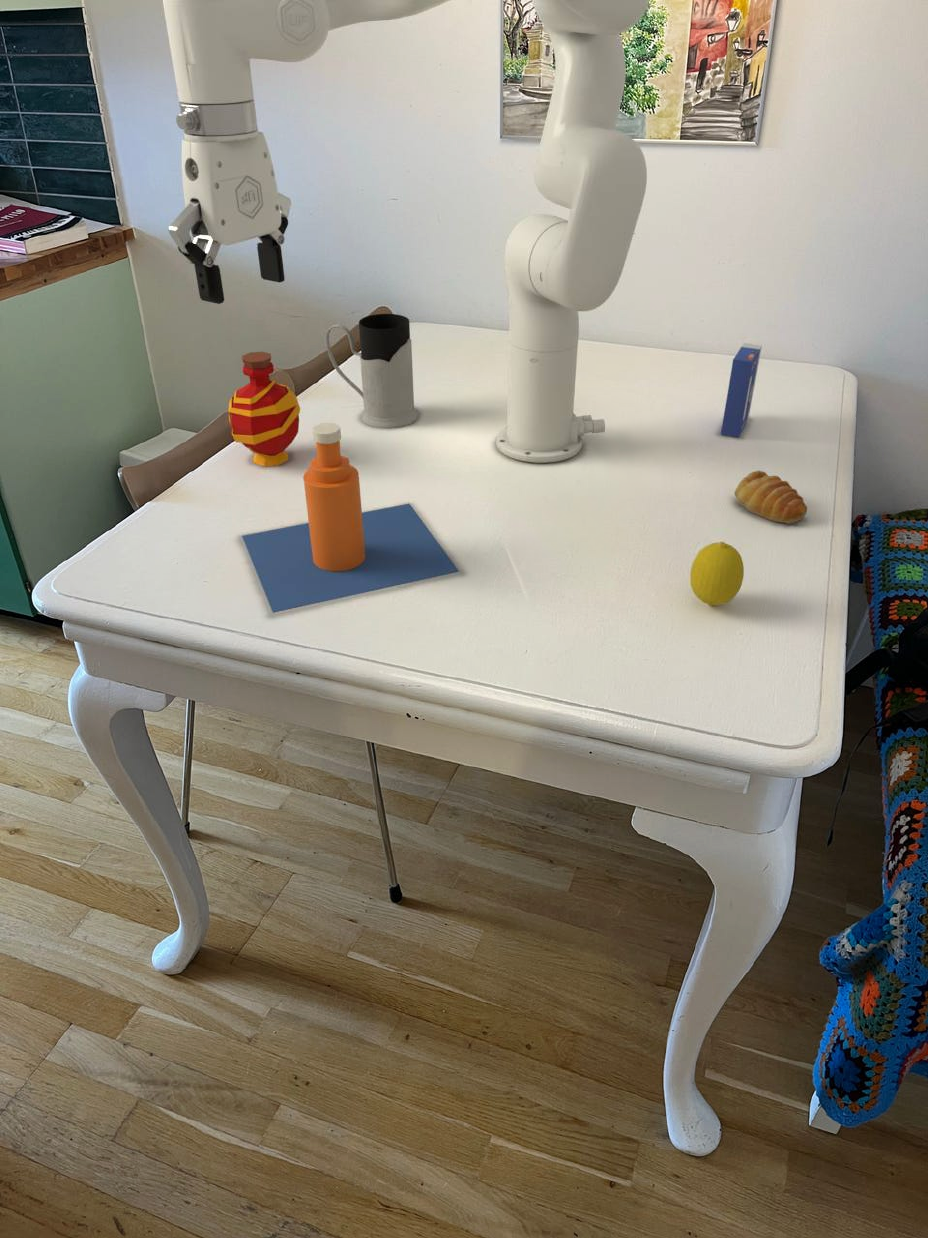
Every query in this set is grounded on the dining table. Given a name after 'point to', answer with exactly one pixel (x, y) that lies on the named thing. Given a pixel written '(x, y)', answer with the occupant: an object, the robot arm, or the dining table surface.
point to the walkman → (740, 389)
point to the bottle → (333, 504)
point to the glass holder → (383, 370)
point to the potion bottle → (264, 412)
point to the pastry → (770, 498)
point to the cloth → (391, 559)
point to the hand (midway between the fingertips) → (243, 290)
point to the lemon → (717, 573)
